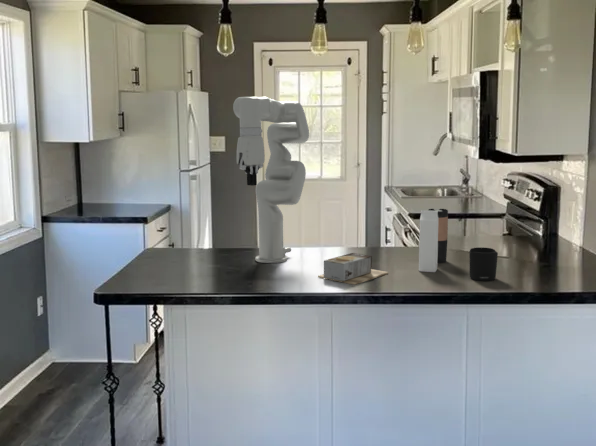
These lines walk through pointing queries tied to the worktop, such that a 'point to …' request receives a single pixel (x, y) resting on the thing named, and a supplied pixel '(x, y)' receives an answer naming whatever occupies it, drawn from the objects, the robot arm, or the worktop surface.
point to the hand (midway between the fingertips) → (251, 185)
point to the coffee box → (347, 266)
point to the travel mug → (442, 234)
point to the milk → (428, 241)
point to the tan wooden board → (361, 277)
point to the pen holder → (483, 264)
